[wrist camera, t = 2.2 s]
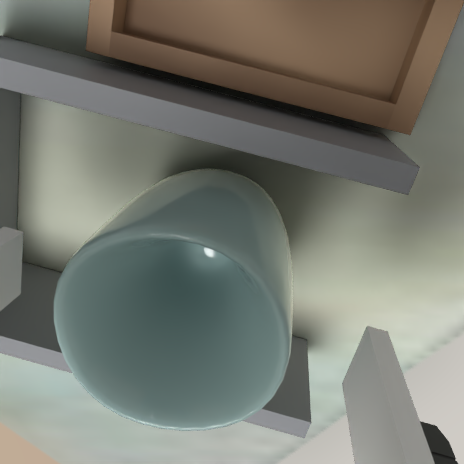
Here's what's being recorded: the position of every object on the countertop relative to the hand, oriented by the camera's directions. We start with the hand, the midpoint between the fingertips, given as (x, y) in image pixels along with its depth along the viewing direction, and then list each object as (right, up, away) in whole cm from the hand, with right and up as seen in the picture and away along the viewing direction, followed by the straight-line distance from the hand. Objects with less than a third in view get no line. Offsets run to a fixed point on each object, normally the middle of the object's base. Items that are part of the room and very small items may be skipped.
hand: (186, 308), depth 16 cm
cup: (+1, +3, +7) cm, 8 cm away
